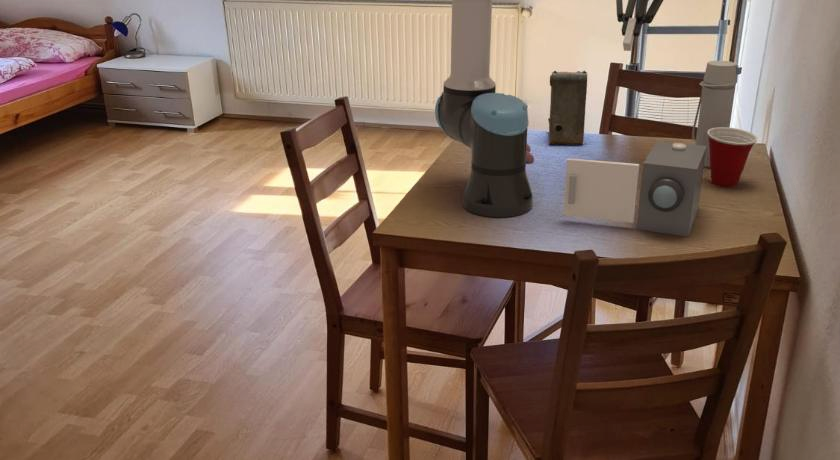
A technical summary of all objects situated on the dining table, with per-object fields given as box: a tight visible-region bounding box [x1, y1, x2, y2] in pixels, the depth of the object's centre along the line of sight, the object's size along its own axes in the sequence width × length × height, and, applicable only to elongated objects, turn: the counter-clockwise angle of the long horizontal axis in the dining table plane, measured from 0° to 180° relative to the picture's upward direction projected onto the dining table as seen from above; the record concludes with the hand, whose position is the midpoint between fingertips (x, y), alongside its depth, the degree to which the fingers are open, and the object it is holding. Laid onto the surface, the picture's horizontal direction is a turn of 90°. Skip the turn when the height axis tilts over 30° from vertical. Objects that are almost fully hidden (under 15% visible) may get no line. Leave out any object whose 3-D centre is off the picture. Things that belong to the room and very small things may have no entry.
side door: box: [563, 157, 640, 223], centre depth 156 cm, size 14×2×12 cm, turn 72°
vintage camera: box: [547, 70, 588, 146], centre depth 212 cm, size 10×15×20 cm, turn 174°
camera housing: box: [636, 140, 707, 238], centre depth 158 cm, size 18×10×15 cm, turn 155°
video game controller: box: [526, 143, 535, 164], centre depth 200 cm, size 10×5×7 cm, turn 179°
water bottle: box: [691, 60, 738, 169], centre depth 189 cm, size 9×8×25 cm
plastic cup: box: [707, 126, 758, 188], centre depth 178 cm, size 11×11×12 cm
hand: (626, 46), depth 168 cm, fingers closed
